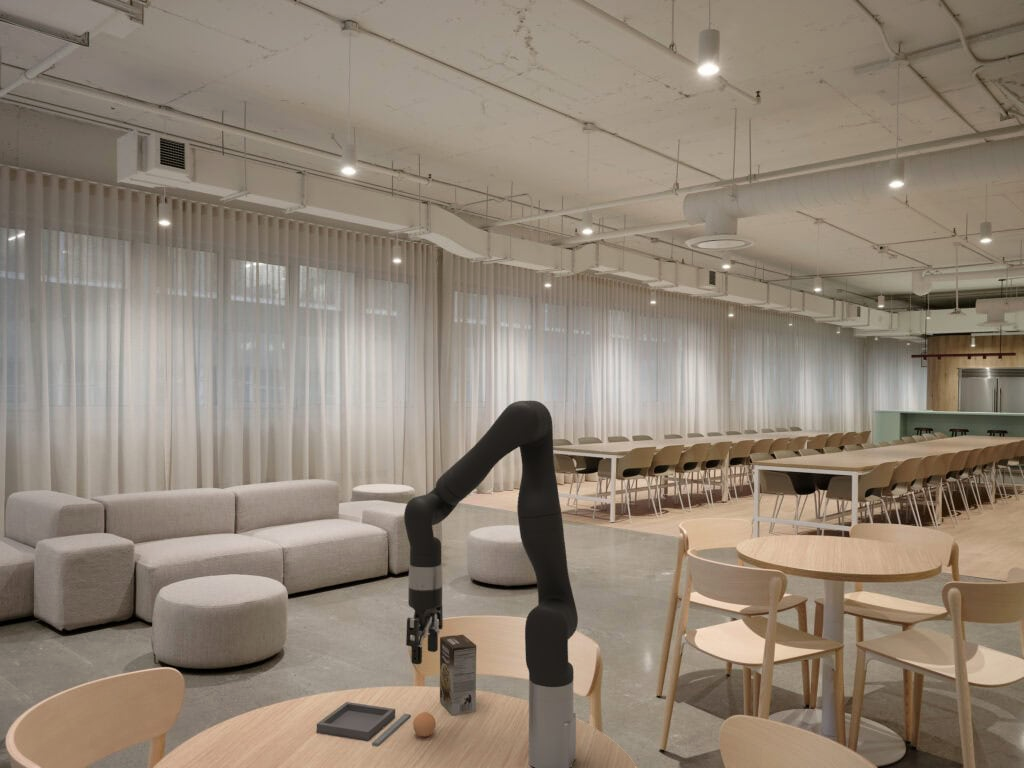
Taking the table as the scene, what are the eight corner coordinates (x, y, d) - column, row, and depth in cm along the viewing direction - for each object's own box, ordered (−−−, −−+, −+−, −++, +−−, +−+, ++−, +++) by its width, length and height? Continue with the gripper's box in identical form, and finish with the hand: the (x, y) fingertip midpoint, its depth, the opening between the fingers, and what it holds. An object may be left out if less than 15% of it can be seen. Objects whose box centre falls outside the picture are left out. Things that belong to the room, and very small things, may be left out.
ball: (439, 732, 174) (439, 710, 174) (430, 742, 169) (430, 719, 169) (419, 729, 175) (419, 707, 175) (409, 738, 170) (409, 716, 170)
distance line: (410, 716, 182) (410, 714, 182) (378, 746, 167) (378, 743, 167) (404, 715, 182) (404, 713, 182) (372, 745, 167) (372, 742, 167)
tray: (395, 717, 181) (395, 709, 181) (368, 741, 169) (368, 732, 169) (346, 710, 185) (346, 701, 185) (316, 732, 173) (316, 723, 173)
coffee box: (438, 702, 191) (439, 636, 191) (462, 697, 193) (463, 633, 194) (451, 716, 182) (451, 647, 183) (476, 711, 185) (477, 644, 185)
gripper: (427, 593, 164) (427, 670, 164) (453, 578, 178) (452, 649, 178) (395, 590, 167) (395, 666, 167) (423, 575, 180) (422, 645, 180)
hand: (424, 657), depth 172 cm, fingers open, 8 cm apart
